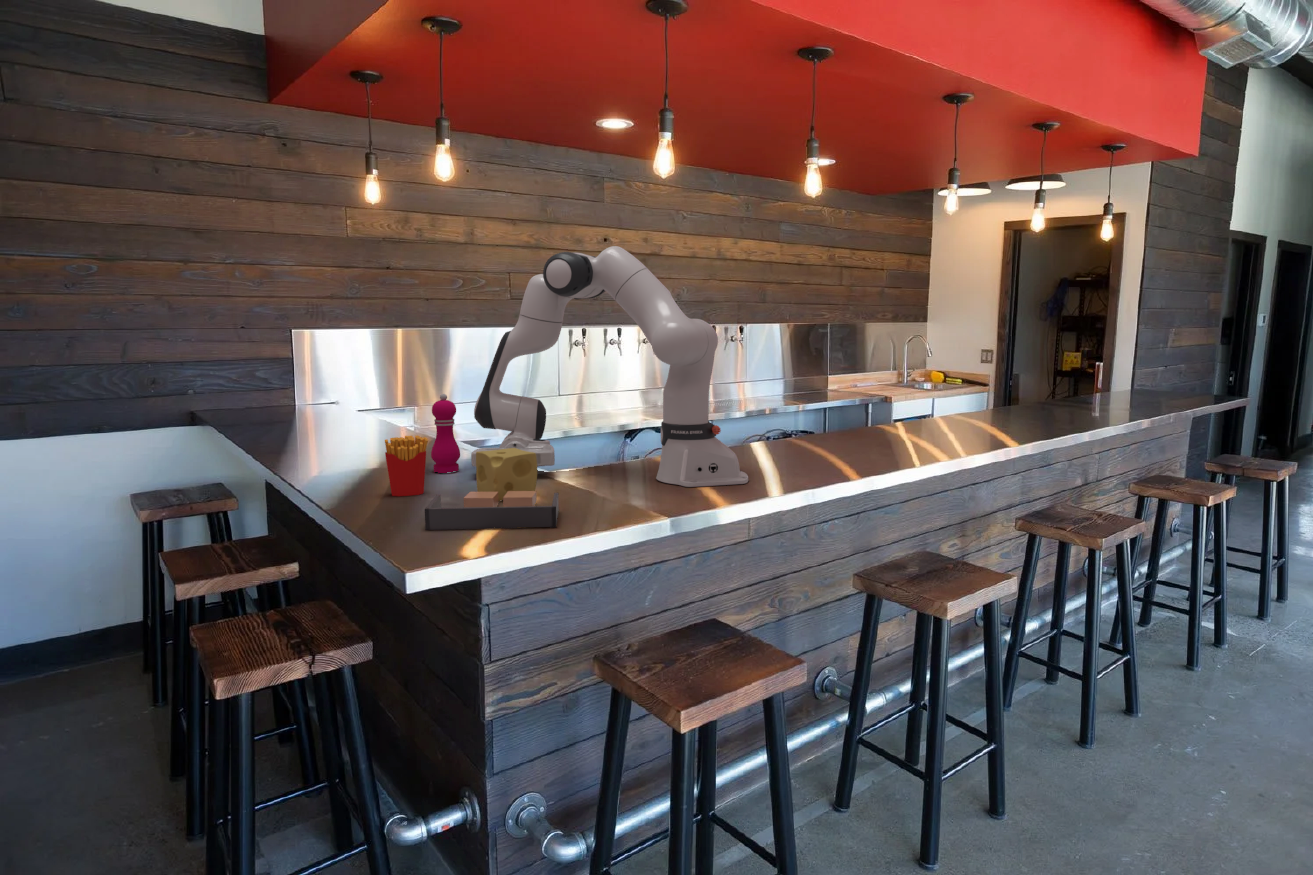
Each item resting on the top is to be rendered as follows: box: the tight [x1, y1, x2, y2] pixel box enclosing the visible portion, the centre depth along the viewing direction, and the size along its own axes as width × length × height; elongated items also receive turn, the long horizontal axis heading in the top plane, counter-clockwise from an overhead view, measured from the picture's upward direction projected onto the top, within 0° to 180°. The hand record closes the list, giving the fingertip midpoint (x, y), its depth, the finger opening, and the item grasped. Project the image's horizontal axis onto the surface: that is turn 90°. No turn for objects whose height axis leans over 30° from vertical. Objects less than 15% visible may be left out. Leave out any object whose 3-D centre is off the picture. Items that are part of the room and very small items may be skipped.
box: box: [424, 492, 560, 531], centre depth 156 cm, size 24×12×4 cm, turn 95°
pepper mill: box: [430, 393, 461, 474], centre depth 202 cm, size 7×7×20 cm
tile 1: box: [463, 491, 500, 507], centre depth 166 cm, size 6×6×3 cm
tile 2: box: [502, 490, 537, 507], centre depth 167 cm, size 6×6×3 cm
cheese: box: [475, 448, 538, 501], centre depth 177 cm, size 10×11×10 cm
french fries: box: [384, 435, 429, 497], centre depth 178 cm, size 9×4×13 cm, turn 111°
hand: (510, 462), depth 189 cm, fingers closed
